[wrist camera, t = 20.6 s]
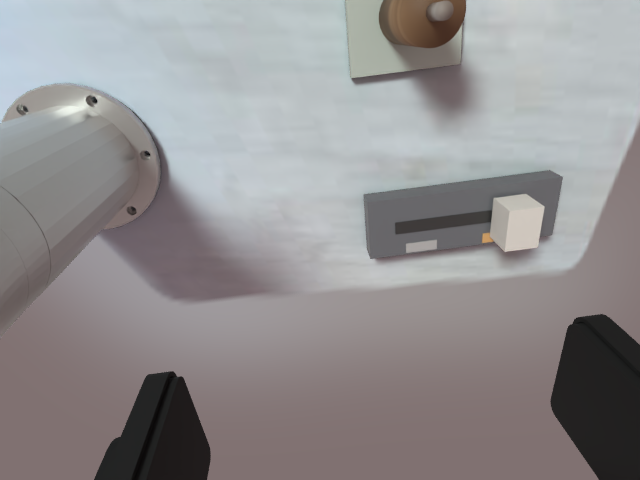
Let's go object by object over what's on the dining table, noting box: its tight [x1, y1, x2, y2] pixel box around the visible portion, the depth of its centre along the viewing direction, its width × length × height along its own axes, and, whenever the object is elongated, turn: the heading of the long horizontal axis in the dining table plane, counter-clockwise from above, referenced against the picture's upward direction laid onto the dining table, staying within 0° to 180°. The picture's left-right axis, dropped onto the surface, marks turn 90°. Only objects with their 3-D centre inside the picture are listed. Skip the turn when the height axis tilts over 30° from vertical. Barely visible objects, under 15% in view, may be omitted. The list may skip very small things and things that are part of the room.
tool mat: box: [345, 0, 462, 78], centre depth 31 cm, size 9×8×1 cm
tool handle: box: [379, 0, 466, 48], centre depth 27 cm, size 4×4×9 cm
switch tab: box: [490, 194, 545, 252], centre depth 36 cm, size 3×4×3 cm
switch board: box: [364, 170, 563, 259], centre depth 38 cm, size 18×6×2 cm, turn 96°
